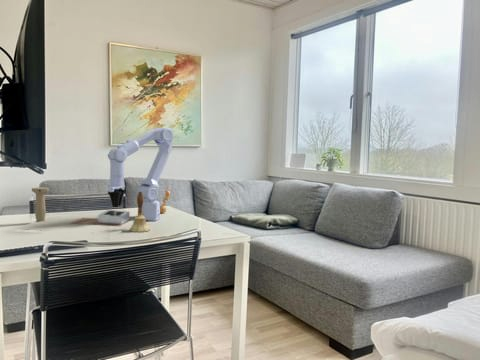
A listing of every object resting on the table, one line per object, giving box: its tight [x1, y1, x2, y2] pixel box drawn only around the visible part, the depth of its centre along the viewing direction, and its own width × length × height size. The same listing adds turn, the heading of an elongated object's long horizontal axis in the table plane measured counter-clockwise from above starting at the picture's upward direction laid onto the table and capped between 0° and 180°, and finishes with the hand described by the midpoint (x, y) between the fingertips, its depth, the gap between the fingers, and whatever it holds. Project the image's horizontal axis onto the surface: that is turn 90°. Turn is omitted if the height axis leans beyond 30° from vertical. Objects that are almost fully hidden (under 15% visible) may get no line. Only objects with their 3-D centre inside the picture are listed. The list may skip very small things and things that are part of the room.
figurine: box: [160, 189, 171, 214], centre depth 205 cm, size 8×6×12 cm
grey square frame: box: [97, 209, 131, 226], centre depth 174 cm, size 10×10×4 cm
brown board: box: [68, 210, 131, 227], centre depth 173 cm, size 22×13×6 cm, turn 87°
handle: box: [31, 186, 50, 223], centre depth 170 cm, size 5×6×15 cm
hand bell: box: [129, 192, 151, 233], centre depth 164 cm, size 8×8×16 cm
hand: (116, 206), depth 176 cm, fingers open, 3 cm apart
